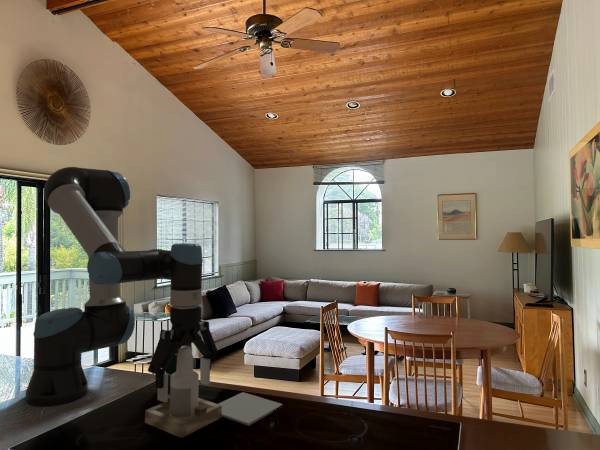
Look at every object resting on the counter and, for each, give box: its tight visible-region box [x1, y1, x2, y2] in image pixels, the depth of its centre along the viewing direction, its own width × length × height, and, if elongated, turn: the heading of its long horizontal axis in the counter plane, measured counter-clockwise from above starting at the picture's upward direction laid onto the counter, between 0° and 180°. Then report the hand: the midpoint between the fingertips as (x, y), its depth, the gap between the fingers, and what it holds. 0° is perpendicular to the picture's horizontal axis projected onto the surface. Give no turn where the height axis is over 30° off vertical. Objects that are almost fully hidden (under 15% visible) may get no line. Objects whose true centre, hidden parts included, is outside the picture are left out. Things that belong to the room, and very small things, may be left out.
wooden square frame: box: [144, 393, 223, 439], centre depth 109 cm, size 14×13×4 cm
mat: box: [217, 391, 283, 426], centre depth 116 cm, size 14×14×1 cm
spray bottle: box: [169, 346, 200, 421], centre depth 109 cm, size 7×7×18 cm
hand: (184, 391), depth 108 cm, fingers open, 13 cm apart
